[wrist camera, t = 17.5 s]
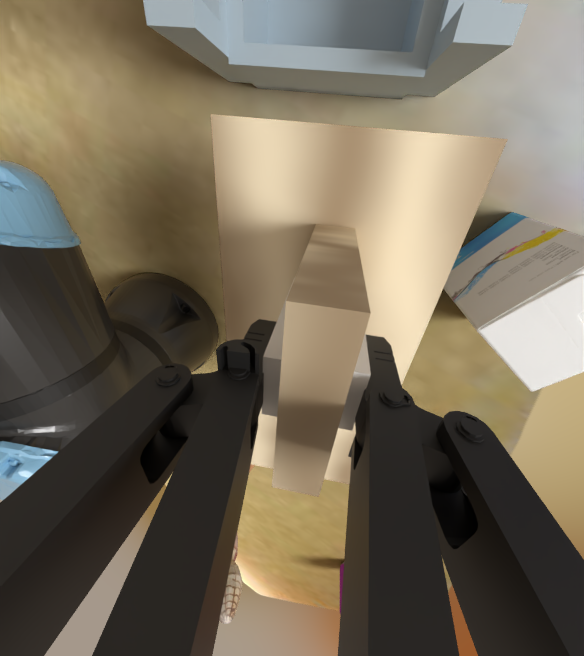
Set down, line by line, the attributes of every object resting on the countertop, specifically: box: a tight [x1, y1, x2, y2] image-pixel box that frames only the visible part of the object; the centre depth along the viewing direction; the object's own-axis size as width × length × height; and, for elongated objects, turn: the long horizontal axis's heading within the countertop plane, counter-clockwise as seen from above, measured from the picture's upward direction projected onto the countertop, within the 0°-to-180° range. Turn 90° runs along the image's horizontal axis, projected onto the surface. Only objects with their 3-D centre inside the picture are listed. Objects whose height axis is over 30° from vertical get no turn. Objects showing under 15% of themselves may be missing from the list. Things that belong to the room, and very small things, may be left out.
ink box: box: [443, 212, 584, 391], centre depth 23 cm, size 9×8×12 cm
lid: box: [211, 114, 508, 497], centre depth 15 cm, size 11×25×10 cm, turn 175°
